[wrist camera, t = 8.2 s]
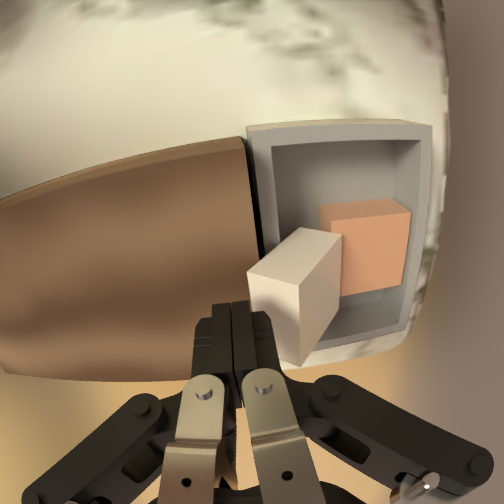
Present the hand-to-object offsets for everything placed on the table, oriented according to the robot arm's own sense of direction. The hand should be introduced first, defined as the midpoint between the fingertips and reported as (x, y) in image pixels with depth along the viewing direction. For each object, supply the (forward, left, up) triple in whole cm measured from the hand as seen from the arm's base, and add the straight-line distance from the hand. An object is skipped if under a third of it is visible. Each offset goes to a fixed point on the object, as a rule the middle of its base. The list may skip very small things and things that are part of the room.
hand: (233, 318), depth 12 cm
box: (0, +7, -7) cm, 10 cm away
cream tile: (+1, +2, -4) cm, 4 cm away
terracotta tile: (+1, +8, -4) cm, 9 cm away
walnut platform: (0, -10, -7) cm, 12 cm away
